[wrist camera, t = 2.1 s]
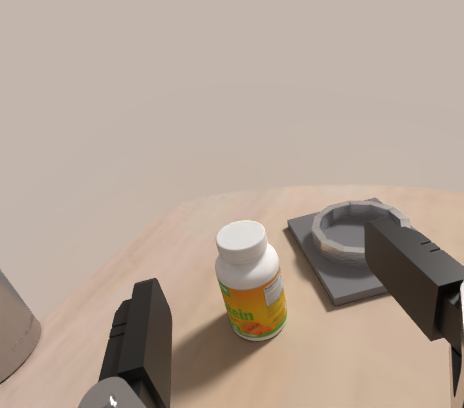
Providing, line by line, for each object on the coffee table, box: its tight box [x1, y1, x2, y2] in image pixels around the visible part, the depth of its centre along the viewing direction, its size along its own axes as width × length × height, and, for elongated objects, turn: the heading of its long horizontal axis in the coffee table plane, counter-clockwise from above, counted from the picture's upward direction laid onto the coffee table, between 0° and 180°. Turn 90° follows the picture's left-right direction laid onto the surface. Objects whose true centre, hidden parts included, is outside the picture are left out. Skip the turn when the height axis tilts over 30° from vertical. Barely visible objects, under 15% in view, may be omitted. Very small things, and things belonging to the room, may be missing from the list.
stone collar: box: [312, 201, 410, 269], centre depth 34 cm, size 10×10×2 cm
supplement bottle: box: [215, 220, 287, 341], centre depth 27 cm, size 5×5×10 cm
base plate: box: [287, 198, 441, 306], centre depth 35 cm, size 12×14×1 cm
